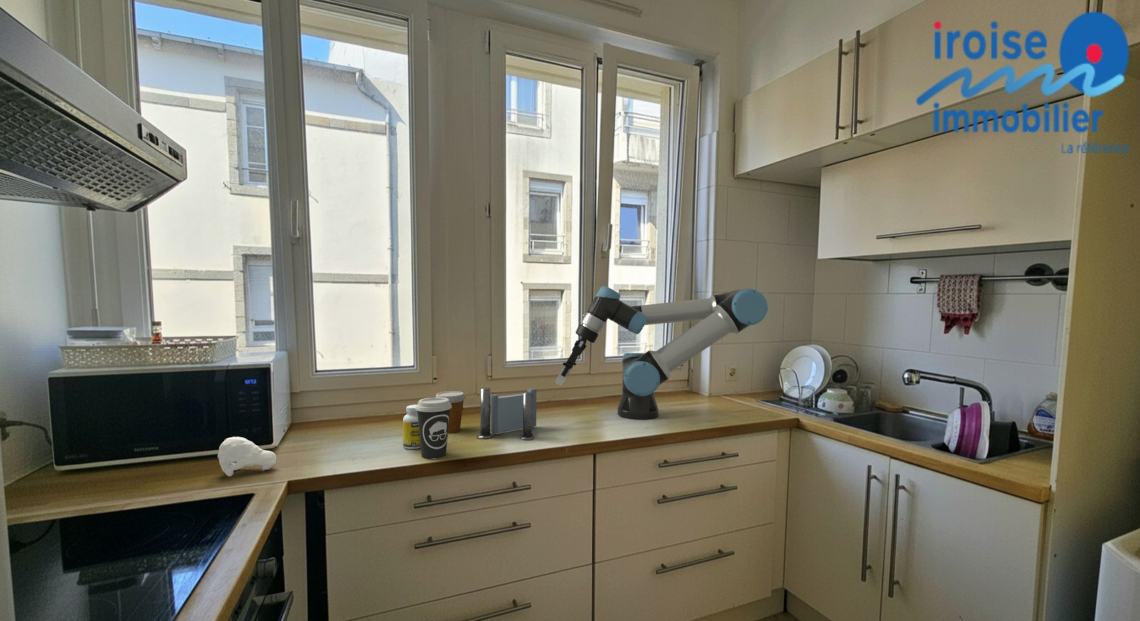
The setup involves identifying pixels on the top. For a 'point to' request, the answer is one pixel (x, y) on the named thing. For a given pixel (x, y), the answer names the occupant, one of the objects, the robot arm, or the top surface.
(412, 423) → the pill bottle
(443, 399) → the coffee cup
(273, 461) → the white lumpy piece
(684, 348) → the robot arm
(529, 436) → the post
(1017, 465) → the top surface
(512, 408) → the gate
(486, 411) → the hinge post
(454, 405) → the disposable coffee cup
